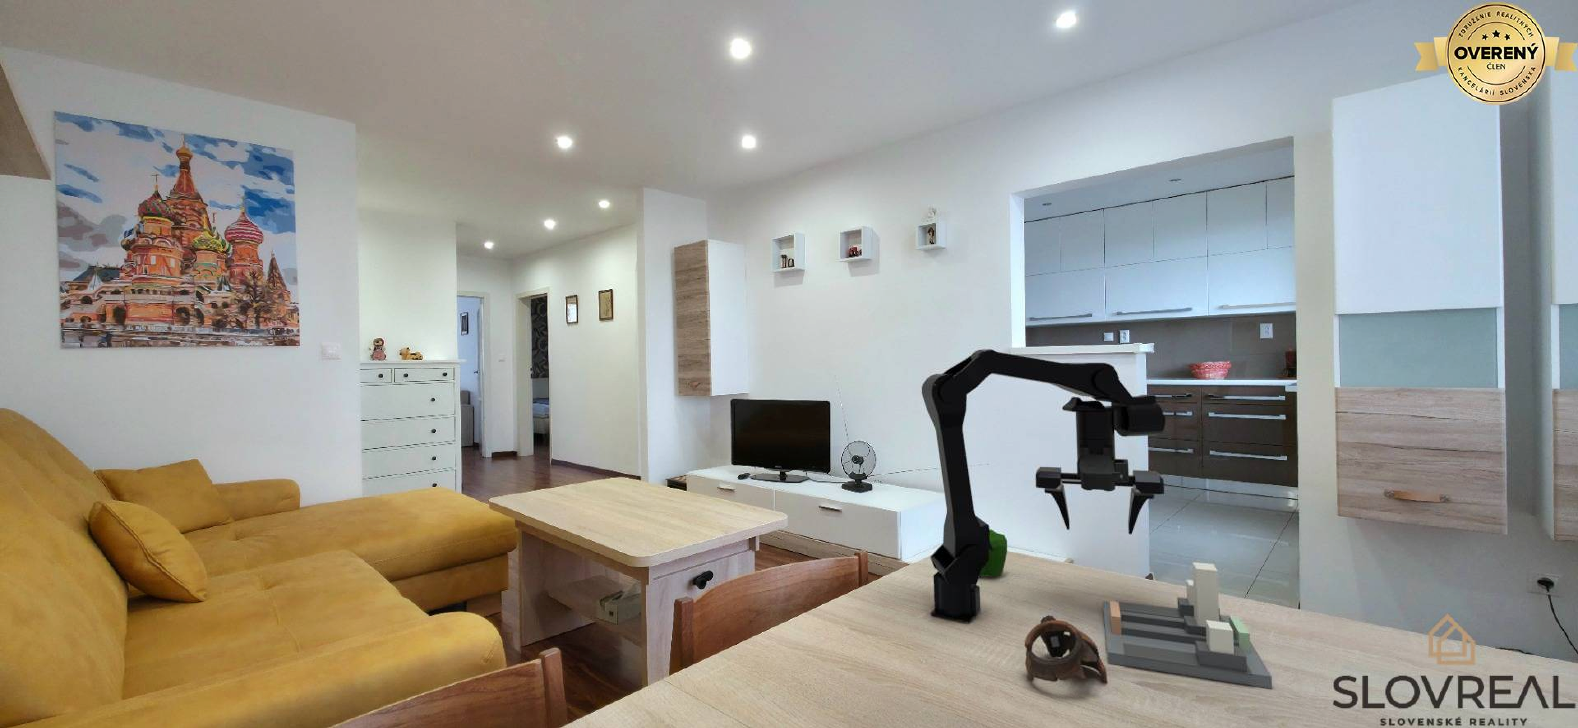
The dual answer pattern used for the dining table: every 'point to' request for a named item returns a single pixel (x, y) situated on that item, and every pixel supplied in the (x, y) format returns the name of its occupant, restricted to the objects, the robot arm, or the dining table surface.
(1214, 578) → the breaker handle
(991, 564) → the bell pepper
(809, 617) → the dining table surface
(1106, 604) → the board
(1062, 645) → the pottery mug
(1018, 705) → the dining table surface
